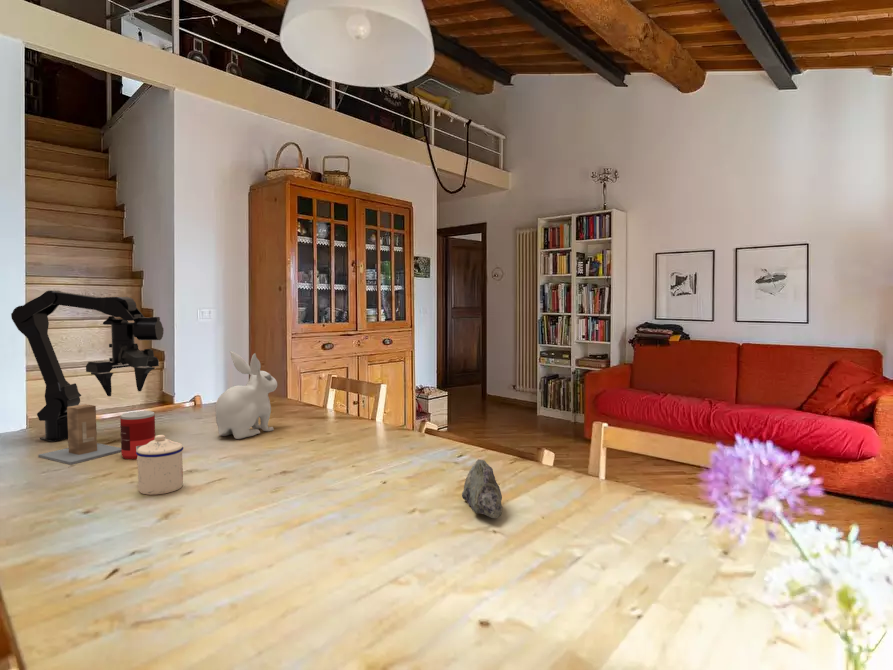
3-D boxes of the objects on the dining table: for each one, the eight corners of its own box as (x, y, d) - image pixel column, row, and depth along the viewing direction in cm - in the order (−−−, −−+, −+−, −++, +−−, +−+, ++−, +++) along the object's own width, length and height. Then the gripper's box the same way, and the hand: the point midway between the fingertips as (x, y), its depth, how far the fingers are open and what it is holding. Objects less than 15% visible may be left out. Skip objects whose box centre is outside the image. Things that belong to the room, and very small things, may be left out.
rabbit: (288, 429, 177) (287, 350, 176) (231, 443, 160) (230, 355, 158) (263, 424, 184) (262, 348, 182) (206, 437, 166) (205, 353, 164)
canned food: (161, 451, 151) (160, 411, 150) (142, 460, 143) (141, 417, 142) (134, 450, 152) (133, 410, 151) (114, 459, 144) (113, 416, 143)
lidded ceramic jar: (193, 485, 124) (192, 433, 124) (155, 498, 116) (154, 443, 116) (158, 477, 130) (156, 427, 129) (119, 488, 122) (117, 435, 121)
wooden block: (68, 452, 147) (67, 406, 146) (86, 448, 151) (85, 404, 150) (79, 455, 145) (78, 408, 144) (97, 450, 149) (96, 405, 148)
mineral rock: (495, 528, 103) (496, 474, 103) (442, 518, 108) (442, 466, 107) (515, 504, 115) (516, 456, 115) (466, 496, 119) (467, 450, 119)
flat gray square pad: (38, 456, 145) (38, 454, 145) (93, 444, 157) (93, 442, 157) (70, 464, 139) (70, 462, 139) (125, 450, 151) (125, 448, 151)
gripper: (109, 343, 151) (111, 401, 152) (170, 339, 168) (171, 391, 169) (83, 342, 156) (85, 397, 157) (145, 337, 173) (147, 388, 174)
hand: (124, 393), depth 164 cm, fingers open, 9 cm apart
